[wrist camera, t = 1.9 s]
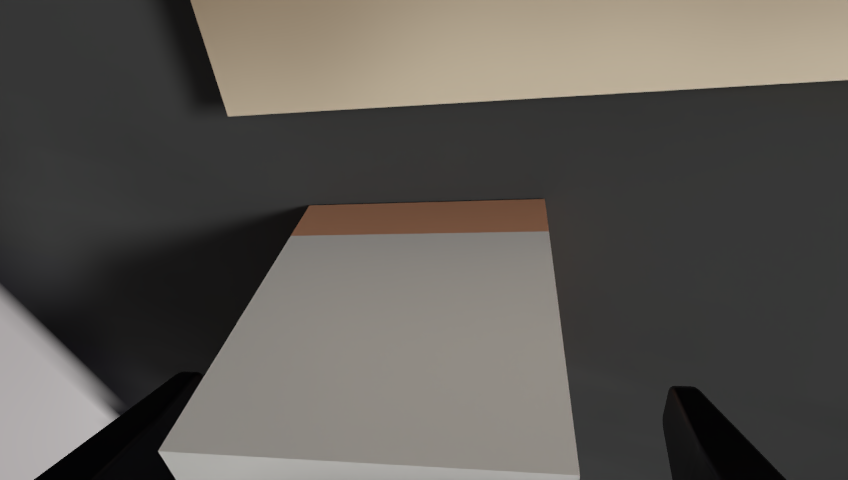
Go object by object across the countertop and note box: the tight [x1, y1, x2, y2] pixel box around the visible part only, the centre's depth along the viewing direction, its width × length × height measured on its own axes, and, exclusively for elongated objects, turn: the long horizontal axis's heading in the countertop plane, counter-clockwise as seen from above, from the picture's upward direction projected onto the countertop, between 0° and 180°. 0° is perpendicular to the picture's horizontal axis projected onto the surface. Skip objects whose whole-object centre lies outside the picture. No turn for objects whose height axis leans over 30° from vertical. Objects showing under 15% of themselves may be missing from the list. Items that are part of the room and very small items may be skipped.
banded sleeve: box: [158, 199, 580, 480], centre depth 10 cm, size 5×5×6 cm
